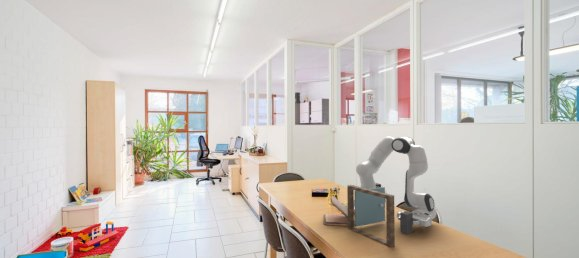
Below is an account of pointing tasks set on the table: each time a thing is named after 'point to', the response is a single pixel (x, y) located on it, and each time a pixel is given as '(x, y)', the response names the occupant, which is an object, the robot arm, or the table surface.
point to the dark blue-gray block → (406, 222)
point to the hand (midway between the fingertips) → (405, 221)
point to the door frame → (389, 214)
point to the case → (337, 218)
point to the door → (369, 207)
